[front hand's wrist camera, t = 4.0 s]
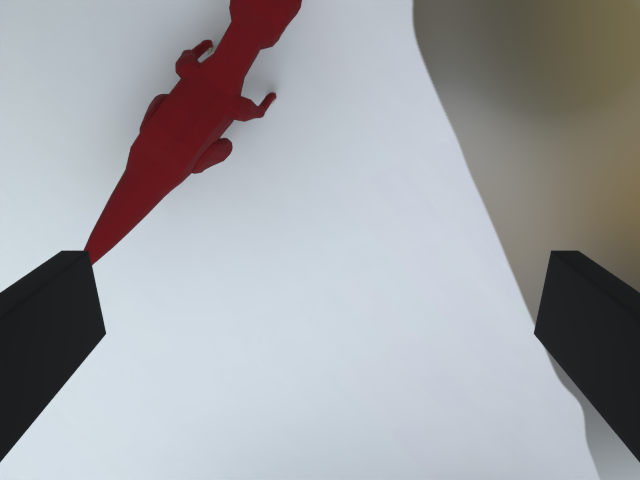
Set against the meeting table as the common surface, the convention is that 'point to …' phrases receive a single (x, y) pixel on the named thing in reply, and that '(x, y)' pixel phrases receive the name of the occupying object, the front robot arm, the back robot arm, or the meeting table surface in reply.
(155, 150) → the toy
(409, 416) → the meeting table surface
